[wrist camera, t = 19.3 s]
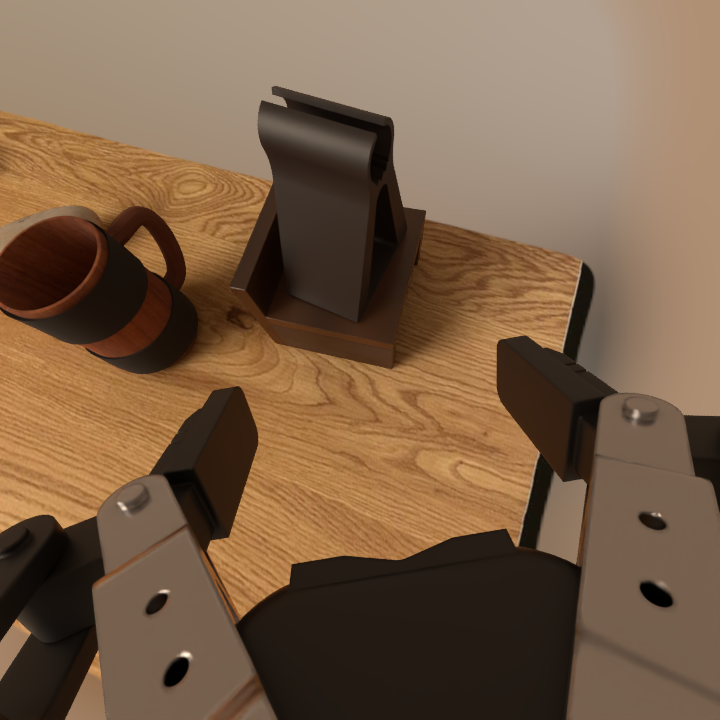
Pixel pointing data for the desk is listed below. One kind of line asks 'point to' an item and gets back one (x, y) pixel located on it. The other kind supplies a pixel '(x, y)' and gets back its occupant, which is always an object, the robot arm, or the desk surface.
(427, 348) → the desk surface
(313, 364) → the desk surface
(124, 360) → the mug
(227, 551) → the desk surface
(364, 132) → the phone stand
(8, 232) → the stone
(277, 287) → the shelf
